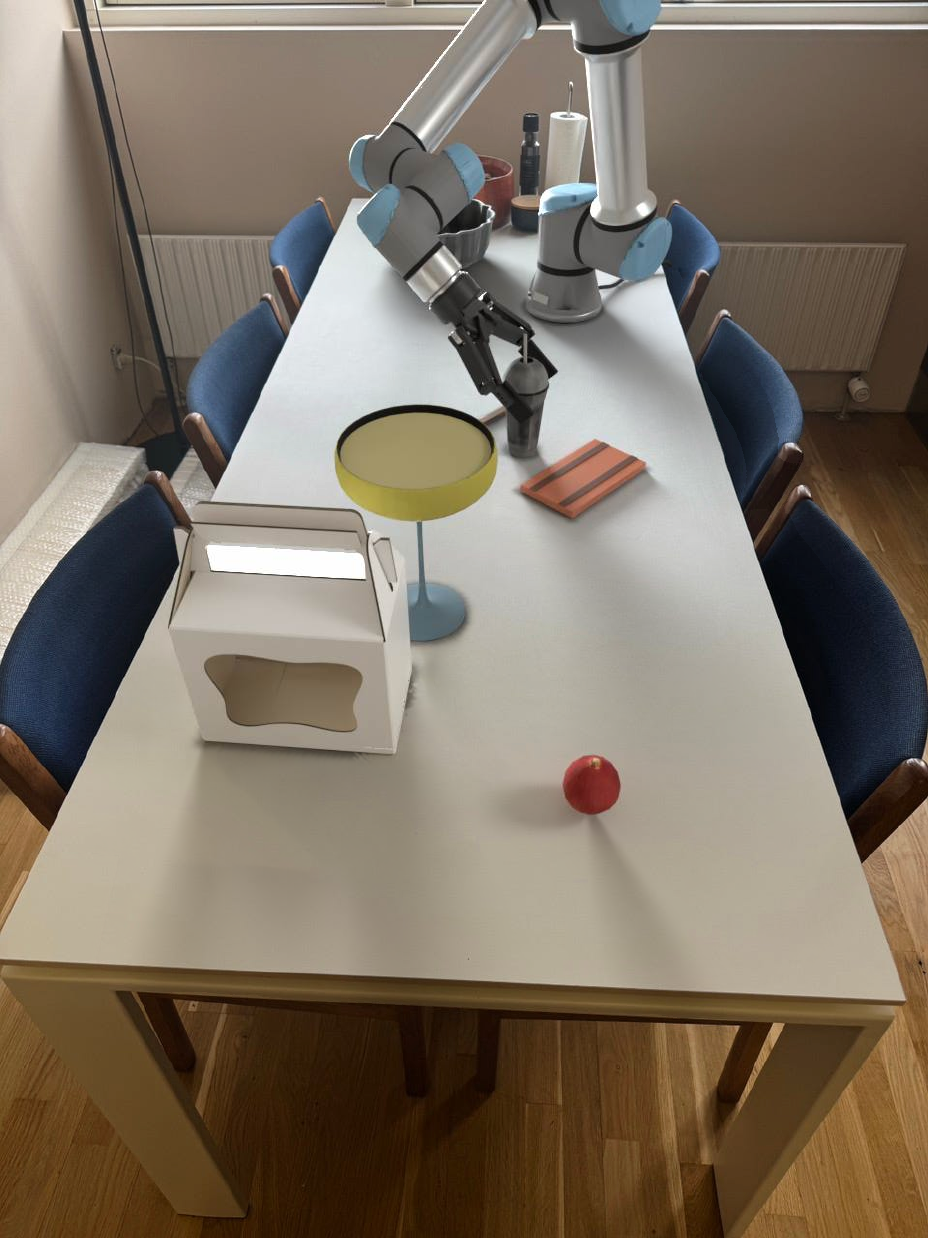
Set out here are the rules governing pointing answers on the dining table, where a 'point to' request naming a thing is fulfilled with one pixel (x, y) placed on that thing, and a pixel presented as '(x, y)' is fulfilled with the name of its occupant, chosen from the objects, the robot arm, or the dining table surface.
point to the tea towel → (583, 477)
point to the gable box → (292, 628)
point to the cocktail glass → (418, 485)
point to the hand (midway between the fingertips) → (540, 397)
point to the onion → (591, 784)
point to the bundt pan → (468, 233)
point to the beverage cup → (533, 389)
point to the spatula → (493, 415)
